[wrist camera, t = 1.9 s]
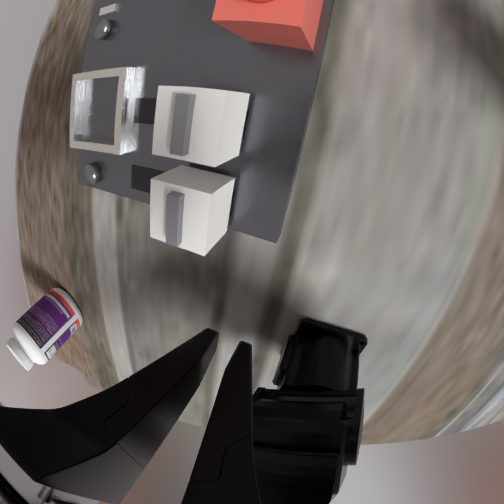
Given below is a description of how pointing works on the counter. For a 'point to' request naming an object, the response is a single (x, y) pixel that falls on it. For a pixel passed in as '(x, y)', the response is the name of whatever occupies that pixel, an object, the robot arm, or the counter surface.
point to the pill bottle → (44, 328)
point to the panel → (191, 75)
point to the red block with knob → (271, 20)
